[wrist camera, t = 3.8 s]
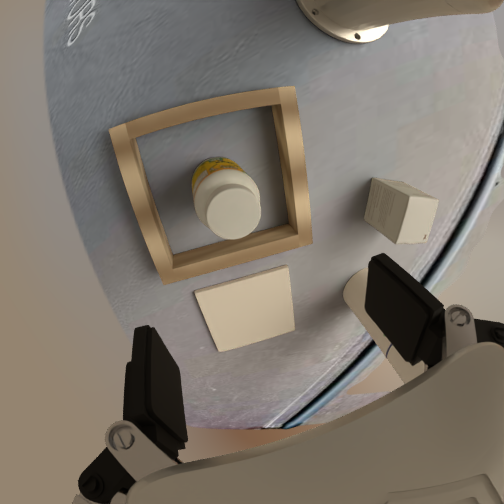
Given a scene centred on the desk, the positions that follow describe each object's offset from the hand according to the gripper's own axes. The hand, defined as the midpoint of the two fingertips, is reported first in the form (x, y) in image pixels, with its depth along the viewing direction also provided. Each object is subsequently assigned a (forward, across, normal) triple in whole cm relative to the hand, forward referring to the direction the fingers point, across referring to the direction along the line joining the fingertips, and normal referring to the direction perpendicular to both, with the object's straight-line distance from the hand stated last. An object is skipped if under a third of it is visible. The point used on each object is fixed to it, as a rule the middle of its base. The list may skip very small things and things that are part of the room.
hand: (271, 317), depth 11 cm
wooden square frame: (+20, -1, -1) cm, 20 cm away
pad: (+20, -1, +18) cm, 27 cm away
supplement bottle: (+20, -1, -1) cm, 20 cm away
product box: (+20, -22, +6) cm, 30 cm away
